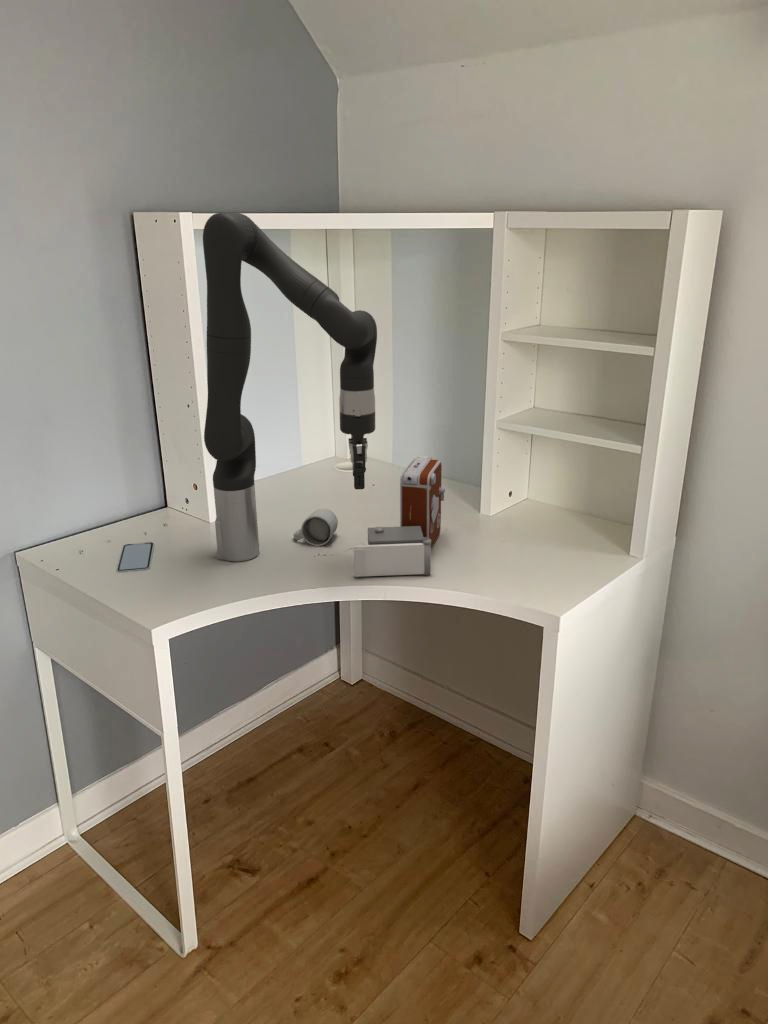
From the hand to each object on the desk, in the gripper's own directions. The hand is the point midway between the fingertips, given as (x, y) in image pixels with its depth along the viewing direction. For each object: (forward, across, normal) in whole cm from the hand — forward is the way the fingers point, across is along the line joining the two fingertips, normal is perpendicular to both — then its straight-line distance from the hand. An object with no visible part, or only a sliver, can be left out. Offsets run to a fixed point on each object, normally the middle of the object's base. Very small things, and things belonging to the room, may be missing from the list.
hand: (358, 482), depth 172 cm
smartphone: (+21, -10, -52) cm, 57 cm away
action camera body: (+20, +2, +9) cm, 22 cm away
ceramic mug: (+20, -16, -10) cm, 28 cm away
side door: (+20, +6, +7) cm, 22 cm away
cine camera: (+20, -14, +16) cm, 29 cm away
